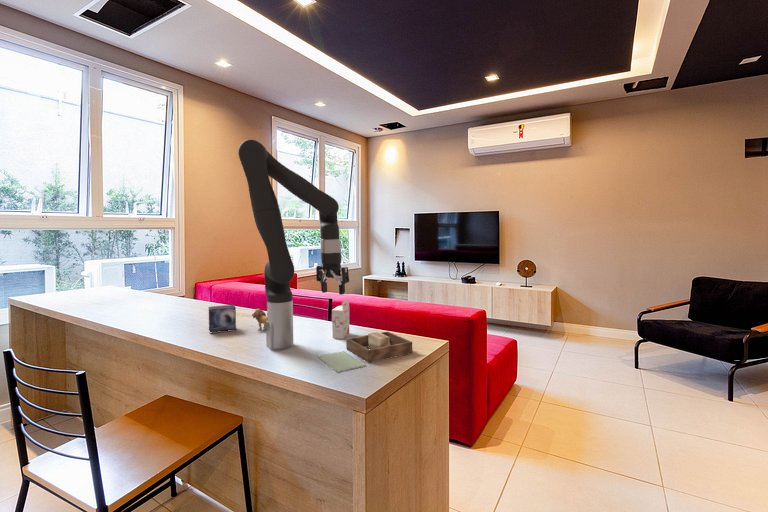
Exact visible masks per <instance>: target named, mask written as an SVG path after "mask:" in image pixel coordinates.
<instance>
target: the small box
mask: <svg viewBox="0 0 768 512" xmlns="http://www.w3.org/2000/svg"><path fill="white" fill-rule="evenodd" d="M236 313H237V310H236V306H235V304H227V305H226V304H224V305H216V306H215V305H214V306H208V331H210V332H218V331H227V332H229V331H228V330H236V331H237V314H236ZM210 332H209V333H210ZM218 333H219V332H218Z"/></svg>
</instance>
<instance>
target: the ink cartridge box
mask: <svg viewBox="0 0 768 512" xmlns="http://www.w3.org/2000/svg"><path fill="white" fill-rule="evenodd" d="M349 303H350V301H349V299H346V300H344V301H343V302H342V303H341V305H338V306H336V307H335V308H333V309H331V323H332V324H331V326H332V327H331V328H332V329H331V330H332V339H339V340H340V339H341V340H344V339H346V337H347V336H348V335H349V334H350V304H349Z"/></svg>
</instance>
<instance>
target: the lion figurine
mask: <svg viewBox="0 0 768 512" xmlns="http://www.w3.org/2000/svg"><path fill="white" fill-rule="evenodd" d="M251 316H252V318H253V319H255V320H256V321H257V323H258V327H259V328H258V329H257V330H258V331H262V328H264V329H263V330H266V329H265V328H266V321H267V314H266V313H265V311H264V310H262V309H261V308H255V310H254V312H253V313H252V314H251ZM262 324H263V327H262Z"/></svg>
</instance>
